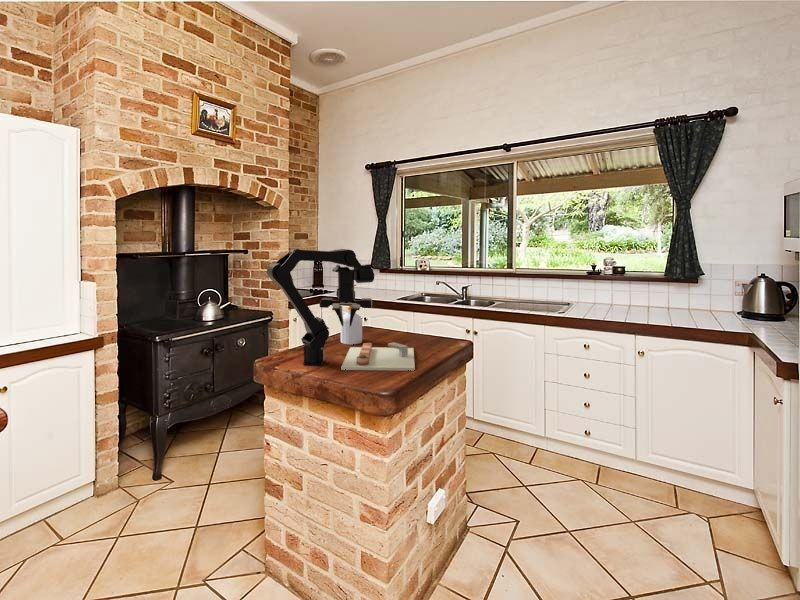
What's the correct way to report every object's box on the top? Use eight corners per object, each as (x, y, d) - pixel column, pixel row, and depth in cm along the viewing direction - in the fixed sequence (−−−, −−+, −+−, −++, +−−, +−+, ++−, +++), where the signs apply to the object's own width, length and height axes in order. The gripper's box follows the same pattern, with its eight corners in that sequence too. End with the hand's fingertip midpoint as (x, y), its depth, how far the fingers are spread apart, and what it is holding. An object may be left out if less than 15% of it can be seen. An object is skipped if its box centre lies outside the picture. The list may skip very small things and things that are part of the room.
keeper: (401, 360, 165) (401, 347, 164) (387, 355, 170) (387, 343, 170) (407, 358, 167) (407, 346, 166) (393, 354, 173) (393, 342, 172)
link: (368, 364, 155) (368, 357, 154) (355, 364, 155) (355, 357, 154) (373, 348, 176) (373, 341, 176) (361, 347, 176) (361, 341, 176)
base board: (341, 369, 153) (341, 367, 153) (350, 349, 179) (350, 347, 179) (414, 370, 153) (414, 367, 153) (413, 350, 178) (413, 347, 178)
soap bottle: (352, 346, 184) (351, 286, 181) (336, 342, 190) (335, 284, 186) (366, 341, 191) (366, 284, 188) (350, 338, 197) (350, 282, 193)
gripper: (373, 281, 171) (373, 321, 174) (324, 281, 172) (325, 321, 174) (371, 285, 160) (371, 328, 163) (318, 284, 161) (319, 327, 163)
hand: (346, 326), depth 166 cm, fingers open, 3 cm apart
